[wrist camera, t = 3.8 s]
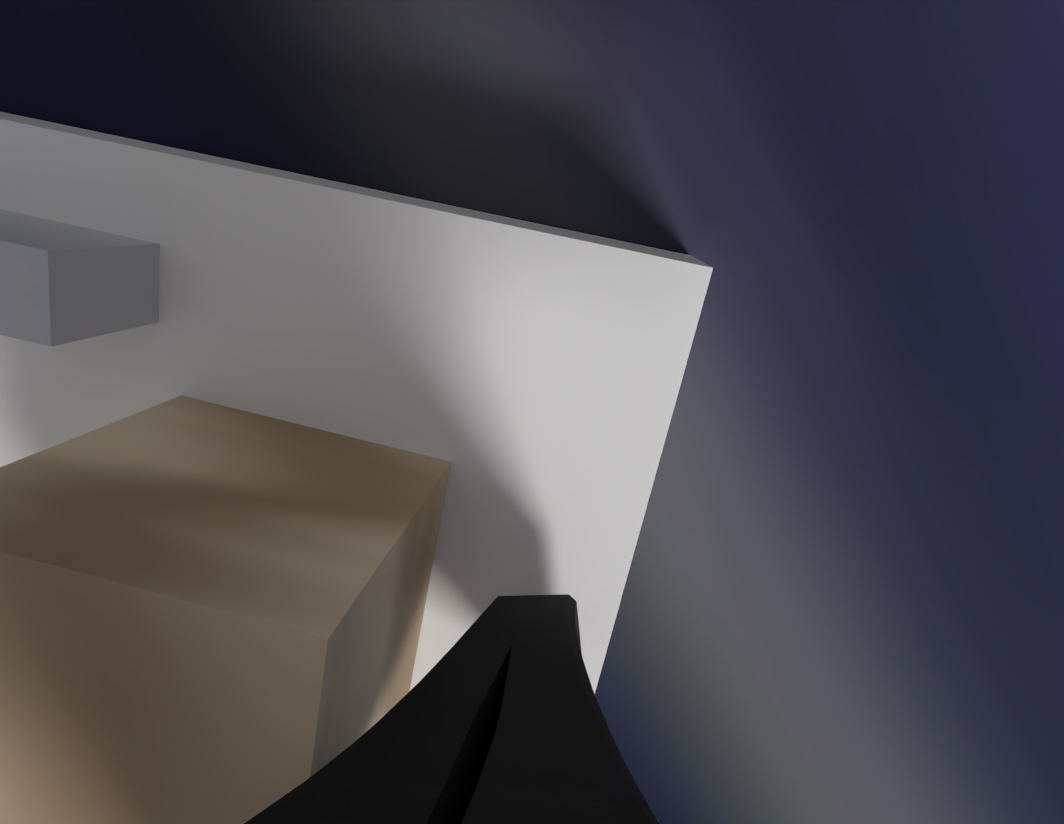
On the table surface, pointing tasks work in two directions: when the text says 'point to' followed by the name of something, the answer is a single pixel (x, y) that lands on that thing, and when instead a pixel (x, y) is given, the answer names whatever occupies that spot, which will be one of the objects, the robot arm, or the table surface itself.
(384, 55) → the table surface
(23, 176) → the channel deck
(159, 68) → the table surface
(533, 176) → the table surface
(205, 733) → the maple block
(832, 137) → the table surface
